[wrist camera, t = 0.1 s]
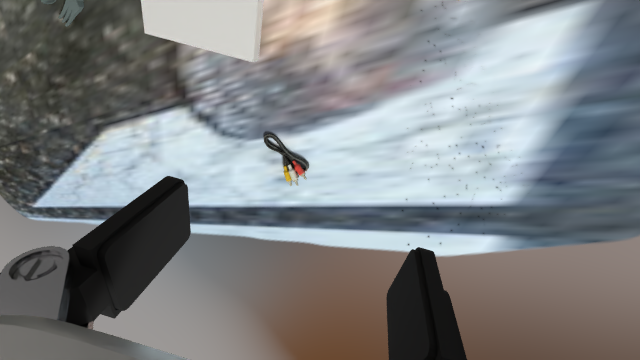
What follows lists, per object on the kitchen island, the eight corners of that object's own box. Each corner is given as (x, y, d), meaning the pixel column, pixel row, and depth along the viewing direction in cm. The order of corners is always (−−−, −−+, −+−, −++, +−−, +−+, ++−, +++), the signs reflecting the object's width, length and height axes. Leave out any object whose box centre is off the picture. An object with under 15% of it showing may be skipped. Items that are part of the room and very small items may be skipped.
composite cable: (261, 136, 45) (256, 142, 43) (284, 123, 43) (279, 129, 41) (293, 182, 49) (289, 189, 46) (315, 172, 47) (312, 179, 45)
